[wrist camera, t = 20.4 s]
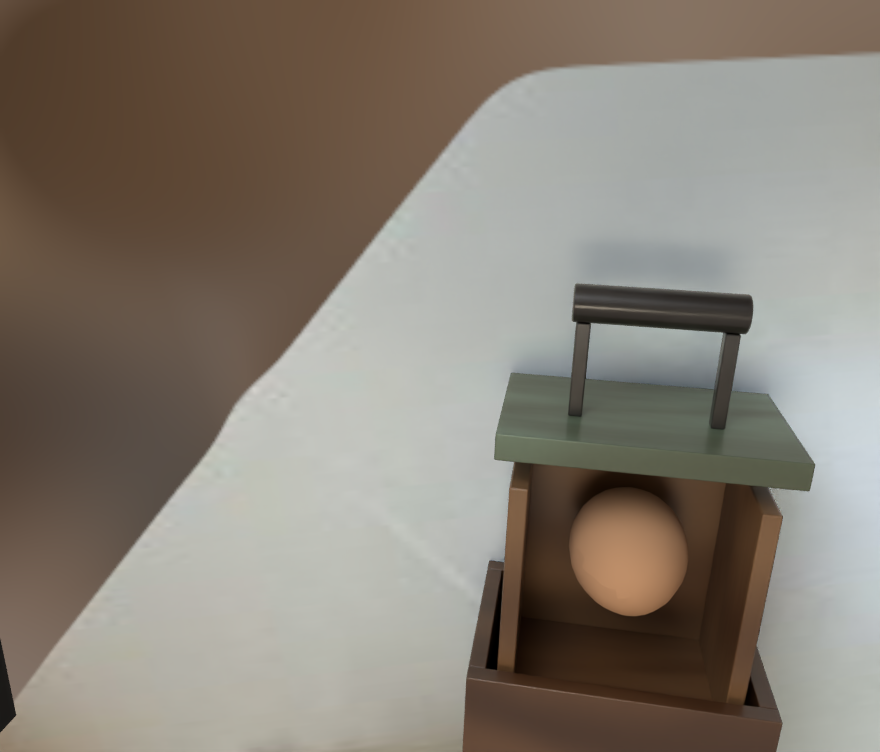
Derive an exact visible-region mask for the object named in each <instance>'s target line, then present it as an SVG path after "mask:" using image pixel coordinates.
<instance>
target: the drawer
mask: <svg viewBox="0 0 880 752" xmlns="http://www.w3.org/2000/svg"><path fill="white" fill-rule="evenodd" d="M752 317H753V300H752V297H751V295H747V294H732V293H716V292H701V291H686V290H670V289H655V288H640V287H624V286H609V285H593V284H578V283H577V284H575V288H574V298H573V310H572V321H573V322H576V331H575V341H574V352H573V363H572V373H571V378H568V377H556V376H544V375H532V374H520V373H511V375H510V379H509V383H508V387H507V391H506V395H505V399H504V403H503V407H502V411H501V415H500V419H499V423H498V427H497V431H496V437H495V454H494V459H495V460H502V461H512V462H514V466H513V471H512V477H511V482H510V488H509V502H508V517H507V531H506V546H505V561H504V576H503V590H502V605H501V620H500V635H499V650H498V664H497V670H499V671H506V672H513V673H520V674H527V675H534V676H541V677H548V678H555V679H562V680H569V681H576V682H584V683H591V684H598V685H605V686H612V687H619V688H626V689H633V690H640V691H647V692H654V693H661V694H668V695H675V696H682V697H689V698H696V699H703V700H710V701H717V702H725V703H732V704H739V705H744V703H745V698H746V693H747V689H748V684H749V679H750V674H751V669H752V664H753V660H754V655H755V650H756V645H757V640H758V635H759V631H760V626H761V621H762V616H763V611H764V606H765V602H766V597H767V592H768V587H769V582H770V577H771V572H772V568H773V563H774V558H775V553H776V548H777V543H778V539H779V534H780V529H781V524H782V519H783V516H782V514H781V512H780V510H779V508H778V506H777V504H776V502H775V500H774V498H773V496H772V494H771V493H770V491H769V489H768V487H770V488H780V489H790V490H800V491H810V487H811V482H812V478H813V473H814V469H815V463H814V462H813V460H812V459H811V457H810V456H809V454H808V453H807V451H806V450H805V448H804V447H803V445H802V444H801V442H800V441H799V439H798V438H797V436H796V435H795V433H794V432H793V430H792V429H791V428H790V426H789V425H788V423H787V422H786V420H785V419H784V417H783V416H782V414H781V413H780V411H779V410H778V408H777V407H776V405H775V404H774V402H773V401H772V399H771V398H770V396H769V395H768V394H760V393H748V392H736V391H732V385H733V379H734V373H735V368H736V362H737V356H738V350H739V344H740V338H741V335H740V334H746V333H748V331H749V329H750V326H751V322H752ZM591 323H598V324H611V325H625V326H639V327H653V328H666V329H680V330H694V331H708V332H721V333H723V338H722V344H721V350H720V357H719V363H718V369H717V375H716V381H715V388H714V390H712V389H700V388H688V387H676V386H664V385H652V384H640V383H628V382H616V381H604V380H592V379H586V369H587V359H588V349H589V339H590V329H591ZM618 487H633V488H637V489H641V490H644V491H647V492H650V493H652V494H654V495H655V496H657V497H659V498H660V499H661V500H662V501H664V502H665V503H666V504H667V505H668V506H669V507H670V508H671V509H672V510H673V511H674V513H675V514H676V516H677V517H678V519H679V520H680V522H681V524H682V527H683V529H684V532H685V537H686V541H687V547H688V565H687V571H686V574H685V577H684V580H683V582H682V584H681V585H680V587H679V588H678V590H677V591H676V593H675V594H674V595H673V596H672V598H671V599H670V600H669V601H668V602H667V603H666V604H665V605H663V606H662V607H660V608H659V609H657V610H655V611H654V612H651V613H648V614H646V615H640V616H626V615H621V614H618V613H615V612H612V611H610V610H608V609H606V608H604V607H602V606H601V605H599V604H598V603H597V602H596V601H595V600H594V599H593V598H592V597H591V596H590V595H589V594H588V593H587V592H586V591H585V590H584V589H583V587H582V586H581V585H580V583H579V582H578V580H577V578H576V575H575V573H574V570H573V568H572V564H571V558H570V551H569V539H570V532H571V528H572V524H573V521H574V519H575V517H576V516H577V514H578V513H579V511H580V509H581V508H582V506H583V505H585V504H586V503H587V502H588V501H589V500H590V499H591V498H592V497H594V496H595V495H597V494H599V493H601V492H603V491H605V490H608V489H613V488H618Z"/></svg>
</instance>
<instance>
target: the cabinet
mask: <svg viewBox="0 0 880 752" xmlns="http://www.w3.org/2000/svg"><path fill="white" fill-rule="evenodd" d="M503 576H504V562H496V561H489V564H488V570H487V574H486V580H485V585H484V590H483V595H482V600H481V605H480V611H479V616H478V621H477V626H476V631H475V636H474V641H473V647H472V652H471V657H470V662H469V667H468V672H467V677H466V696H465V715H464V735H463V752H776V750H777V745H778V741H779V737H780V732H781V728H782V724H783V723H782V720H781V717H780V714H779V711H778V708H777V705H776V702H775V699H774V696H773V693H772V690H771V687H770V684H769V681H768V678H767V675H766V672H765V669H764V666H763V663H762V660H761V657H760V654H759V651H758V649H757V646H756V650H755V655H754V660H753V664H752V669H751V674H750V679H749V684H748V689H747V693H746V698H745V703H744V705H739V704H732V703H725V702H717V701H710V700H703V699H696V698H689V697H682V696H675V695H668V694H661V693H654V692H647V691H640V690H633V689H626V688H619V687H612V686H605V685H598V684H591V683H584V682H576V681H569V680H562V679H555V678H548V677H541V676H534V675H527V674H520V673H513V672H506V671H499V670H497V664H498V650H499V635H500V620H501V605H502V590H503Z"/></svg>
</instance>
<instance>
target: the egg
mask: <svg viewBox="0 0 880 752" xmlns="http://www.w3.org/2000/svg"><path fill="white" fill-rule="evenodd" d="M569 551H570V558H571V564H572V568H573V570H574V573H575V575H576V578H577V580H578V582H579V583H580V585H581V586H582V587H583V589H584V590H585V591H586V592H587V593H588V594H589V595H590V596H591V597H592V598H593V599H594V600H595V601H596V602H597V603H598V604H599V605H601V606H602V607H604V608H606V609H608V610H610V611H612V612H615V613H618V614H621V615H626V616H640V615H646V614H648V613H651V612H654V611H655V610H657V609H659V608H660V607H662V606H663V605H665V604H666V603H667V602H668V601H669V600H670V599H671V598H672V596H673V595H674V594H675V593H676V591H677V590H678V588H679V587H680V585H681V584H682V582H683V580H684V577H685V574H686V571H687V565H688V547H687V541H686V537H685V532H684V529H683V527H682V524H681V522H680V520H679V519H678V517H677V516H676V514H675V513H674V511H673V510H672V509H671V508H670V507H669V506H668V505H667V504H666V503H665V502H664V501H662V500H661V499H660V498H659V497H657V496H655V495H654V494H652V493H650V492H647V491H644V490H641V489H637V488H633V487H618V488H613V489H608V490H605V491H603V492H601V493H599V494H597V495H595V496H594V497H592V498H591V499H590V500H589V501H588V502H587V503H586V504H585V505H583V506H582V508H581V509H580V511H579V513H578V514H577V516H576V517H575V519H574V521H573V524H572V528H571V532H570V539H569Z"/></svg>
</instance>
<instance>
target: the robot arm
mask: <svg viewBox="0 0 880 752" xmlns="http://www.w3.org/2000/svg"><path fill="white" fill-rule="evenodd" d="M15 716H16V712H15V707H14V702H13V698H12V693H11V688H10V684H9V679H8V674H7V669H6V664H5V659H4V654H3V650H2V645H1V640H0V732H1V731H2V730H3V729H4V728H5V727H6V726H7V725H8V724H9V723H10V721H11V720H12V719H13V718H14V717H15Z"/></svg>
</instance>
